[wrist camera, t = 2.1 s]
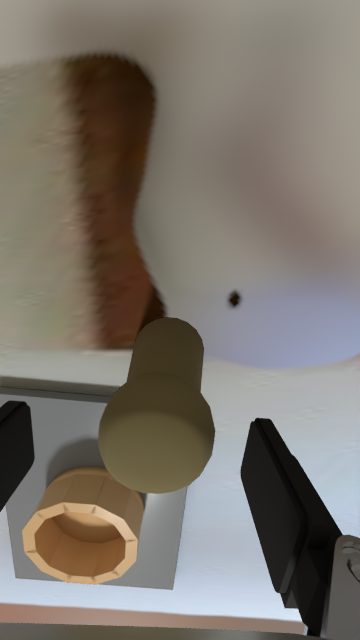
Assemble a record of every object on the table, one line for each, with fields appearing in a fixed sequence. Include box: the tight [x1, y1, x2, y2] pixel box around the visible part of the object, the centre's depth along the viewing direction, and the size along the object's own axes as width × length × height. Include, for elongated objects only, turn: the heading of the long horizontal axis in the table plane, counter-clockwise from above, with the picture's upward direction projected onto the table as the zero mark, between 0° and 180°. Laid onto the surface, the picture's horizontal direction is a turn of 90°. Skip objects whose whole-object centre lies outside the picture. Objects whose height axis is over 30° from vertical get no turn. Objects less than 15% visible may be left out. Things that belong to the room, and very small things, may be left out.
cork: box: [98, 317, 215, 494], centre depth 14 cm, size 6×6×11 cm
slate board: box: [0, 387, 187, 590], centre depth 23 cm, size 18×24×1 cm
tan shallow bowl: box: [22, 466, 144, 585], centre depth 21 cm, size 10×10×3 cm
